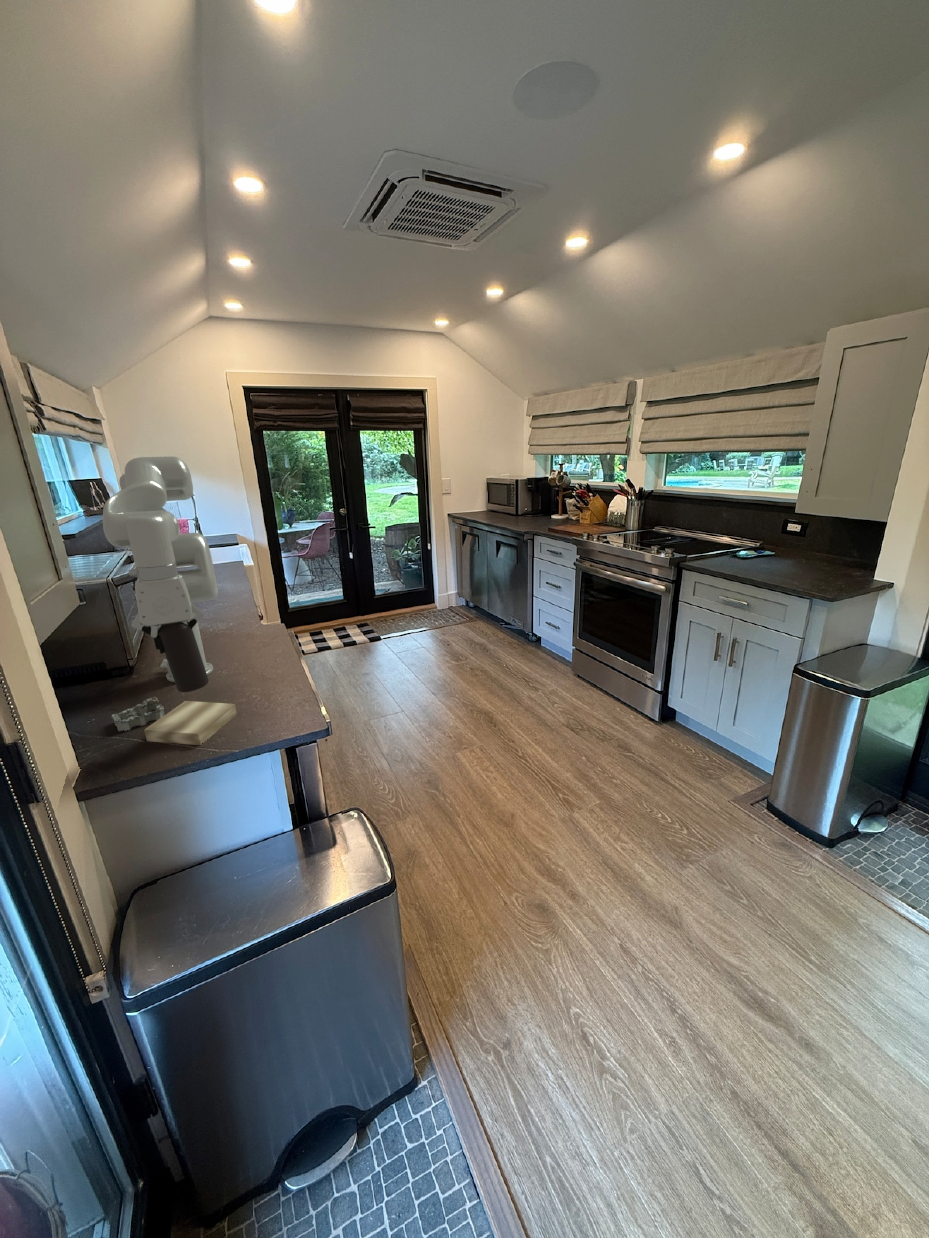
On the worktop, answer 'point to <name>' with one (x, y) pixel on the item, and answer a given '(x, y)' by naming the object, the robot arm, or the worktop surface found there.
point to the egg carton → (131, 717)
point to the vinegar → (183, 656)
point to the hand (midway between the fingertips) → (175, 648)
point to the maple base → (191, 723)
